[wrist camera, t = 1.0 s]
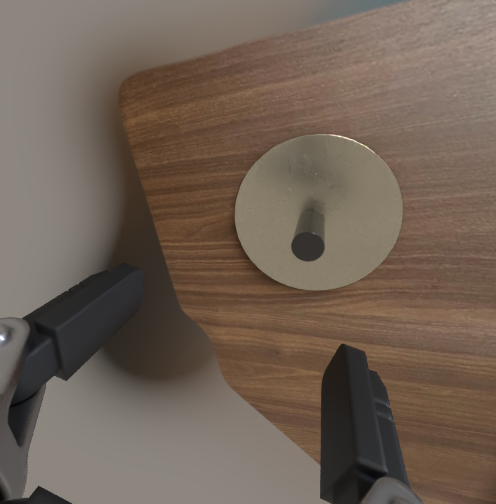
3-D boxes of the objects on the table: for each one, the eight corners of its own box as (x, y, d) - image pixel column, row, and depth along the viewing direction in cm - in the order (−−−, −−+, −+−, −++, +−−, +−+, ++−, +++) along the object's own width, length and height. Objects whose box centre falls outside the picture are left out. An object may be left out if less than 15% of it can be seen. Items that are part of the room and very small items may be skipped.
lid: (255, 114, 21) (230, 109, 16) (436, 159, 19) (483, 172, 14) (227, 259, 29) (202, 292, 23) (356, 302, 27) (365, 351, 21)
